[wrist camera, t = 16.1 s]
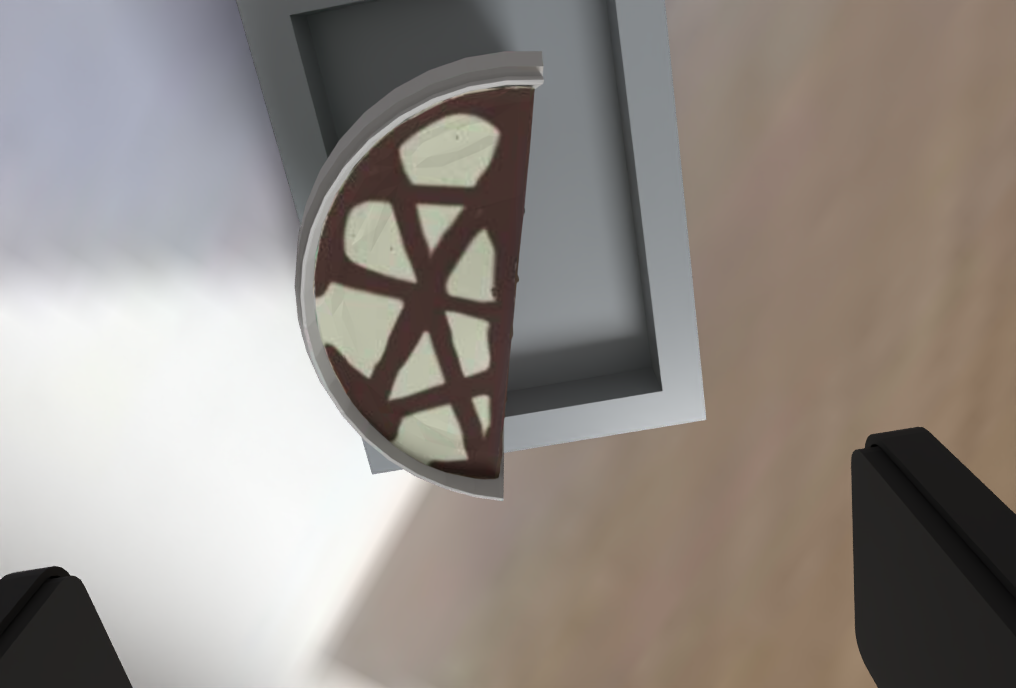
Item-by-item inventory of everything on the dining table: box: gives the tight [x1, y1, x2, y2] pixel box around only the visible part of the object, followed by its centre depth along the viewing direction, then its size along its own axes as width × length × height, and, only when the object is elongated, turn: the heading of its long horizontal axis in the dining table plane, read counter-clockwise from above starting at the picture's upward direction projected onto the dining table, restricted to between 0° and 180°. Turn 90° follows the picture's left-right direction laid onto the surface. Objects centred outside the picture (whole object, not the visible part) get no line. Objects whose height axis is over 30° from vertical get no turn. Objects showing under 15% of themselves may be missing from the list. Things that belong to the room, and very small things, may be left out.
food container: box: [295, 51, 544, 501], centre depth 25 cm, size 12×6×10 cm, turn 175°
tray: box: [236, 0, 706, 474], centre depth 29 cm, size 18×13×3 cm
